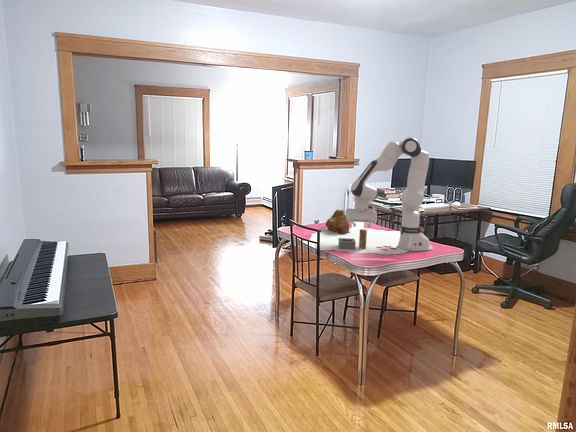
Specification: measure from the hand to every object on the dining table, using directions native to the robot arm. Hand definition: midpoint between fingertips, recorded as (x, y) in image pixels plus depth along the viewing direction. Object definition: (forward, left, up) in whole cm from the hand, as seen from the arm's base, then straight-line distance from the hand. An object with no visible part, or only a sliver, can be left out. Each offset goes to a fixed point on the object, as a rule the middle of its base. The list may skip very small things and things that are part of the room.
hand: (361, 226), depth 279 cm
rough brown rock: (+13, -48, -14) cm, 52 cm away
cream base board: (+5, +7, -14) cm, 16 cm away
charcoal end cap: (+10, +7, -13) cm, 17 cm away
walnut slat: (0, +7, -13) cm, 14 cm away
